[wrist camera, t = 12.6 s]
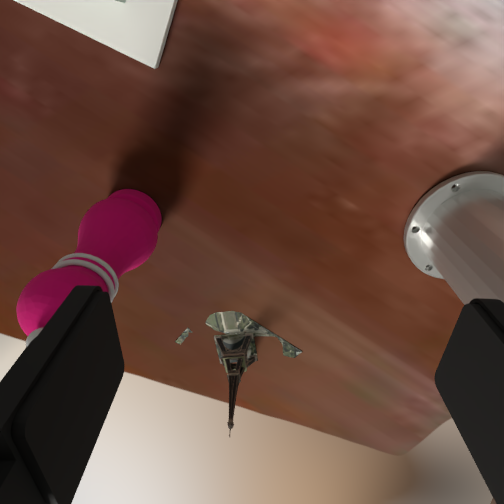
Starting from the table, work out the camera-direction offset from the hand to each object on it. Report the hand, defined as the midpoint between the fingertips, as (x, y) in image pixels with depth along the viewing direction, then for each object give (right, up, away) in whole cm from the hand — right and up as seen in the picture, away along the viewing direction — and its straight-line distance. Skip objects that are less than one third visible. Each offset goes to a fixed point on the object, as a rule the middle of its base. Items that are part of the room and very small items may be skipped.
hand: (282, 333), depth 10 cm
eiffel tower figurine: (-3, -10, +40) cm, 41 cm away
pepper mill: (-14, +6, +30) cm, 33 cm away
